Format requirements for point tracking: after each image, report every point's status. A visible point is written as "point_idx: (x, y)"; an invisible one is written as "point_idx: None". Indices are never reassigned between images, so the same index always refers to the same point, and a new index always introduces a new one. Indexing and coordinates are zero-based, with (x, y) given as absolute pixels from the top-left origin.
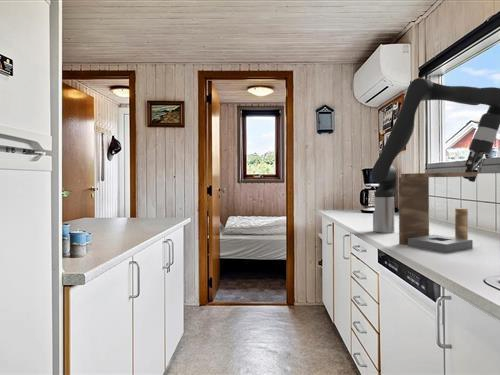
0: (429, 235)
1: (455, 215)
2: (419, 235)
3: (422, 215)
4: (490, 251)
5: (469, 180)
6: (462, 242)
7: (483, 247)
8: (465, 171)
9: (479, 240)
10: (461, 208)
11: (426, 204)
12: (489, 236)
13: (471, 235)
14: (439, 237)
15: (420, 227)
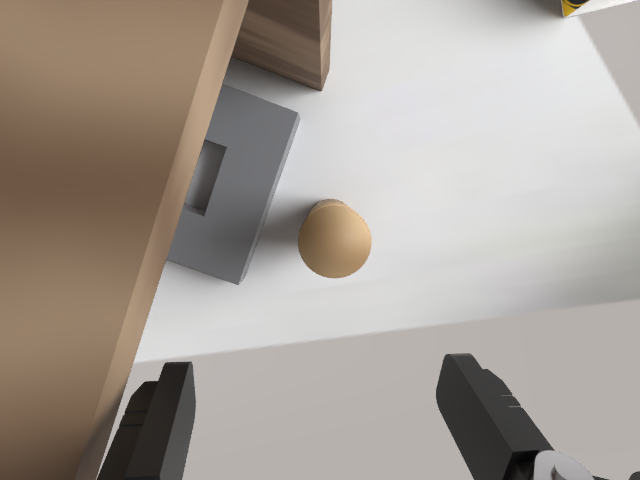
0: (261, 102)
1: (317, 208)
2: (254, 56)
3: (259, 25)
4: (212, 338)
5: (446, 361)
6: (173, 260)
7: (282, 306)
8: (143, 436)
9: (449, 267)
10: (353, 239)
11: (291, 7)
12: (591, 283)
13: (585, 213)
14: (228, 156)
15: (254, 45)
